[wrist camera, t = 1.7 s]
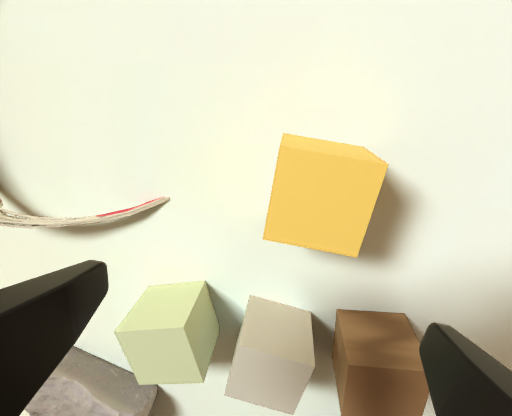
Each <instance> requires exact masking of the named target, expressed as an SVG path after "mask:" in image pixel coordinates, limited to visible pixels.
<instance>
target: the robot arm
mask: <svg viewBox="0 0 512 416" xmlns="http://www.w3.org/2000/svg"><path fill="white" fill-rule="evenodd" d="M107 291H108V274H107V265H106V264H105V263H104V262H101V261H96V260H88V261H85V262H82V263H79V264H76V265H73V266H70V267H67V268H64V269H61V270H58V271H54V272H51V273H48V274H45V275H42V276H39V277H36V278H33V279H30V280H27V281H24V282H21V283H18V284H15V285H12V286H9V287H6V288H3V289H0V416H19V415H20V414H21V413H22V411H23V410H24V409H25V408H26V406H27V405H28V404H29V402H30V401H31V400H32V399H33V397H34V396H35V395H36V393H37V392H38V391H39V389H40V388H41V387H42V386H43V384H44V383H45V382H46V380H47V379H48V378H49V377H50V375H51V374H52V373H53V371H54V370H55V369H56V367H57V366H58V365H59V364H60V362H61V361H62V360H63V358H64V357H65V356H66V354H67V353H68V352H69V351H70V349H71V348H72V346H73V345H74V344H75V342H76V341H77V339H78V338H79V336H80V335H81V333H82V332H83V330H84V329H85V327H86V325H87V324H88V322H89V321H90V319H91V318H92V316H93V314H94V313H95V311H96V310H97V308H98V306H99V305H100V303H101V302H102V300H103V299H104V297H105V295H106V294H107ZM419 354H420V358H421V362H422V366H423V370H424V373H425V377H426V381H427V384H428V388H429V392H430V396H431V399H432V403H433V407H434V410H435V413H436V416H512V371H511V370H509V369H508V368H507V367H505V366H504V365H502V364H501V363H500V362H498V361H497V360H496V359H494V358H493V357H492V356H490V355H489V354H487V353H486V352H485V351H483V350H482V349H481V348H479V347H478V346H477V345H475V344H474V343H473V342H471V341H470V340H468V339H467V338H466V337H464V336H463V335H462V334H460V333H459V332H458V331H456V330H455V329H454V328H452V327H451V326H449V325H445V324H440V323H431V324H430V325H429V326H428V328H427V330H426V332H425V334H424V337H423V339H422V341H421V343H420V346H419Z"/></svg>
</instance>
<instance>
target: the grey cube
mask: <svg viewBox="0 0 512 416" xmlns="http://www.w3.org/2000/svg"><path fill="white" fill-rule="evenodd" d="M314 369H315V357H314V345H313V334H312V322H311V312H310V311H306V310H303V309H299V308H295V307H292V306H288V305H285V304H281V303H277V302H274V301H270V300H267V299H263V298H259V297H256V296H252V295H250V297H249V300H248V304H247V307H246V311H245V314H244V318H243V321H242V324H241V328H240V331H239V335H238V338H237V342H236V347H235V351H234V355H233V360H232V364H231V368H230V373H229V377H228V382H227V386H226V390H225V396H229V397H232V398H235V399H239V400H242V401H246V402H249V403H253V404H256V405H260V406H263V407H267V408H270V409H274V410H277V411H281V412H284V413H288V414H291V415H293V414H294V412H295V410H296V407H297V405H298V403H299V401H300V399H301V397H302V394H303V392H304V390H305V388H306V386H307V384H308V381H309V379H310V377H311V375H312V373H313V371H314Z"/></svg>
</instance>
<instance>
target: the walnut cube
mask: <svg viewBox="0 0 512 416" xmlns="http://www.w3.org/2000/svg"><path fill="white" fill-rule="evenodd" d="M419 346H420V343H419V341H418V339H417V337H416V335H415V333H414V331H413V329H412V327H411V325H410V323H409V321H408V320H407V318H406V316H405V314H404V313H389V312H373V311H357V310H341V309H337V312H336V322H335V332H334V342H333V352H332V359H333V366H334V372H335V379H336V385H337V392H338V398H339V405H340V411H341V416H422V415H423V411H424V408H425V405H426V401H427V398H428V394H429V388H428V384H427V381H426V377H425V373H424V370H423V366H422V362H421V358H420V354H419Z"/></svg>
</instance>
